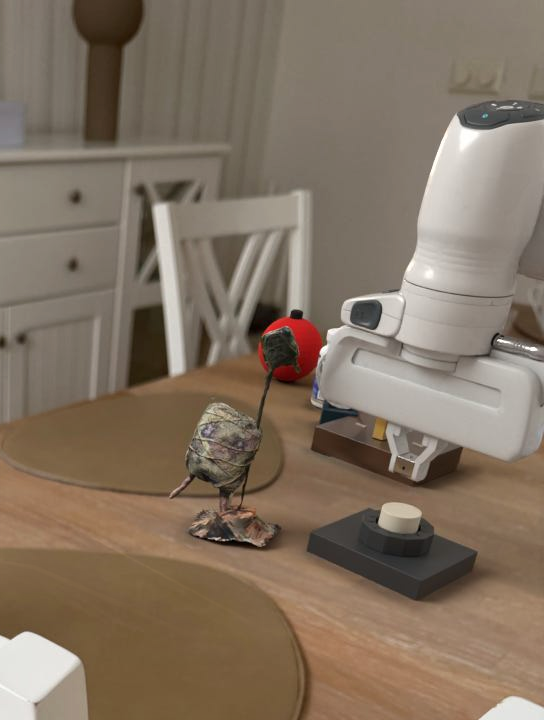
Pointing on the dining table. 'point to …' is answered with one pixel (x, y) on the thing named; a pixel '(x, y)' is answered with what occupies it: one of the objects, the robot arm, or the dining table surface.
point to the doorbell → (392, 554)
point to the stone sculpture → (234, 454)
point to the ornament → (306, 342)
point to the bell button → (400, 518)
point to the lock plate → (376, 448)
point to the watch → (329, 408)
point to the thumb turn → (380, 429)
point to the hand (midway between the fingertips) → (406, 475)
